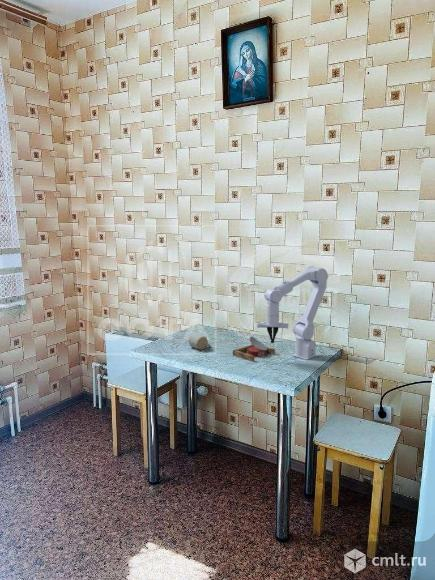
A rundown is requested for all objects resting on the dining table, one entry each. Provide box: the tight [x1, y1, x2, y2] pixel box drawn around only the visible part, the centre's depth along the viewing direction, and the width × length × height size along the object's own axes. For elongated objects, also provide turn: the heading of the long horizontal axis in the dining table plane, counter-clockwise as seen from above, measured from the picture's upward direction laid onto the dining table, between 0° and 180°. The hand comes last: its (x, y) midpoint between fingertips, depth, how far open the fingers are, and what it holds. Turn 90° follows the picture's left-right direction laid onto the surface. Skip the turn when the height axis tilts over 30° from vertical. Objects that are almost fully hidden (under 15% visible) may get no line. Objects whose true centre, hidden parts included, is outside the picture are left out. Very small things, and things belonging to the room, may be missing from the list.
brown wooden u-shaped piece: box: [232, 344, 276, 362], centre depth 218 cm, size 13×16×2 cm
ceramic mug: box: [188, 332, 211, 351], centre depth 229 cm, size 11×8×8 cm
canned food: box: [246, 336, 268, 358], centre depth 218 cm, size 11×10×10 cm
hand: (272, 342), depth 208 cm, fingers closed
